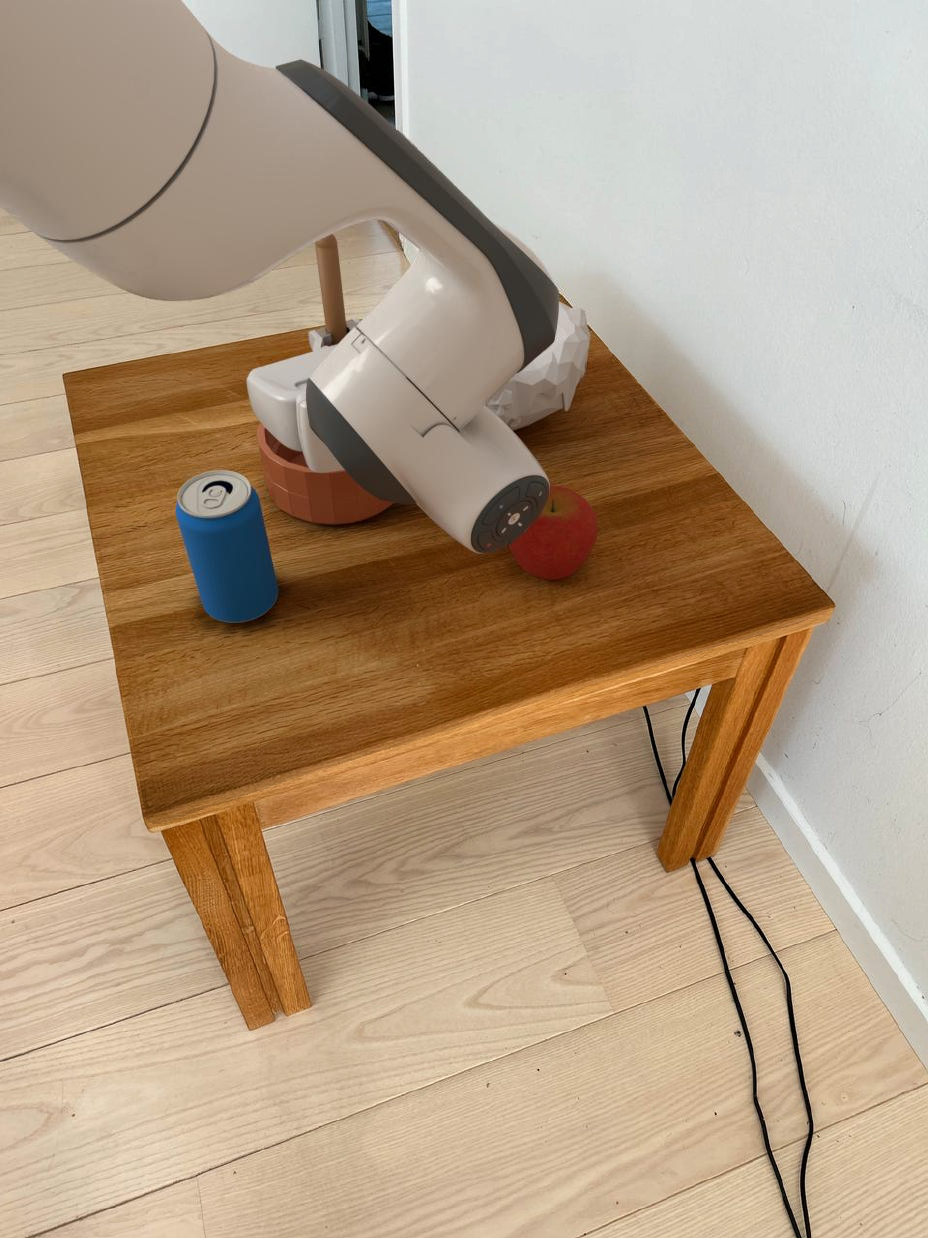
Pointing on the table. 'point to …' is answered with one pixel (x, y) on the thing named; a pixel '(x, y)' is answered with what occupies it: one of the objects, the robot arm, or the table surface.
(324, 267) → the plunger
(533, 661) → the table surface
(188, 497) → the beverage can
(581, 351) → the bowl
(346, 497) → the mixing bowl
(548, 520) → the apple
